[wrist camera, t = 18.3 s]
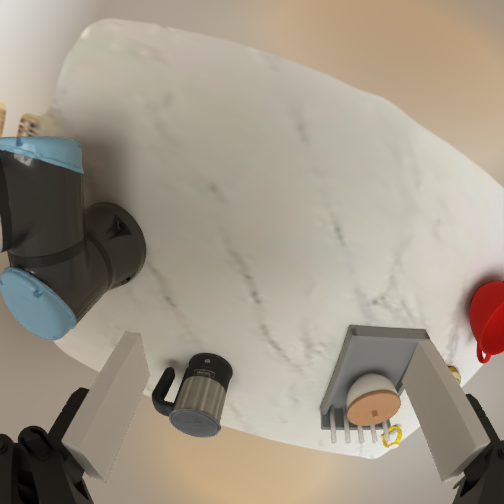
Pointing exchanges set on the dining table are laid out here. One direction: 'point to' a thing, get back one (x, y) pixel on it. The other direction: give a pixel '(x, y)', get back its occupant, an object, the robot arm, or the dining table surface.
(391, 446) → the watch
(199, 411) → the milk frother
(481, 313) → the ceramic cup
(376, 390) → the lidded jar
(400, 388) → the dish rack
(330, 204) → the dining table surface
